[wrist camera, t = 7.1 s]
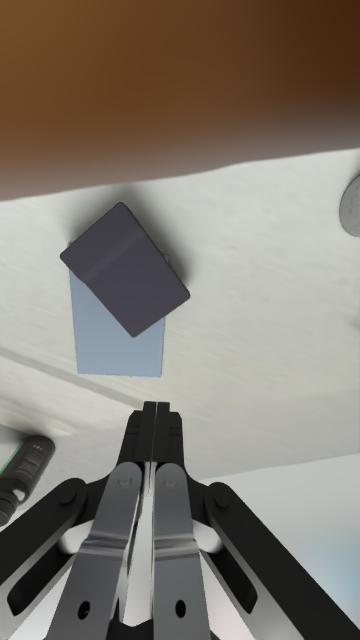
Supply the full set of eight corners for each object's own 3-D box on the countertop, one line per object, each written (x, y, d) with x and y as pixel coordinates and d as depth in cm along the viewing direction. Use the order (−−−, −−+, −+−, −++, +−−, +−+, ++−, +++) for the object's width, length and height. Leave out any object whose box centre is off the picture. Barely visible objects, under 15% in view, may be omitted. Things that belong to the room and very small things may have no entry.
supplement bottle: (16, 437, 41) (-42, 508, 30) (49, 432, 41) (4, 501, 30) (28, 460, 43) (-21, 534, 32) (60, 455, 43) (22, 528, 32)
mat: (169, 254, 31) (169, 254, 30) (160, 375, 38) (160, 377, 38) (68, 245, 30) (67, 245, 29) (79, 371, 37) (77, 373, 36)
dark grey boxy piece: (190, 292, 32) (129, 207, 28) (192, 298, 28) (120, 199, 24) (137, 330, 34) (73, 255, 30) (132, 341, 30) (57, 255, 26)
